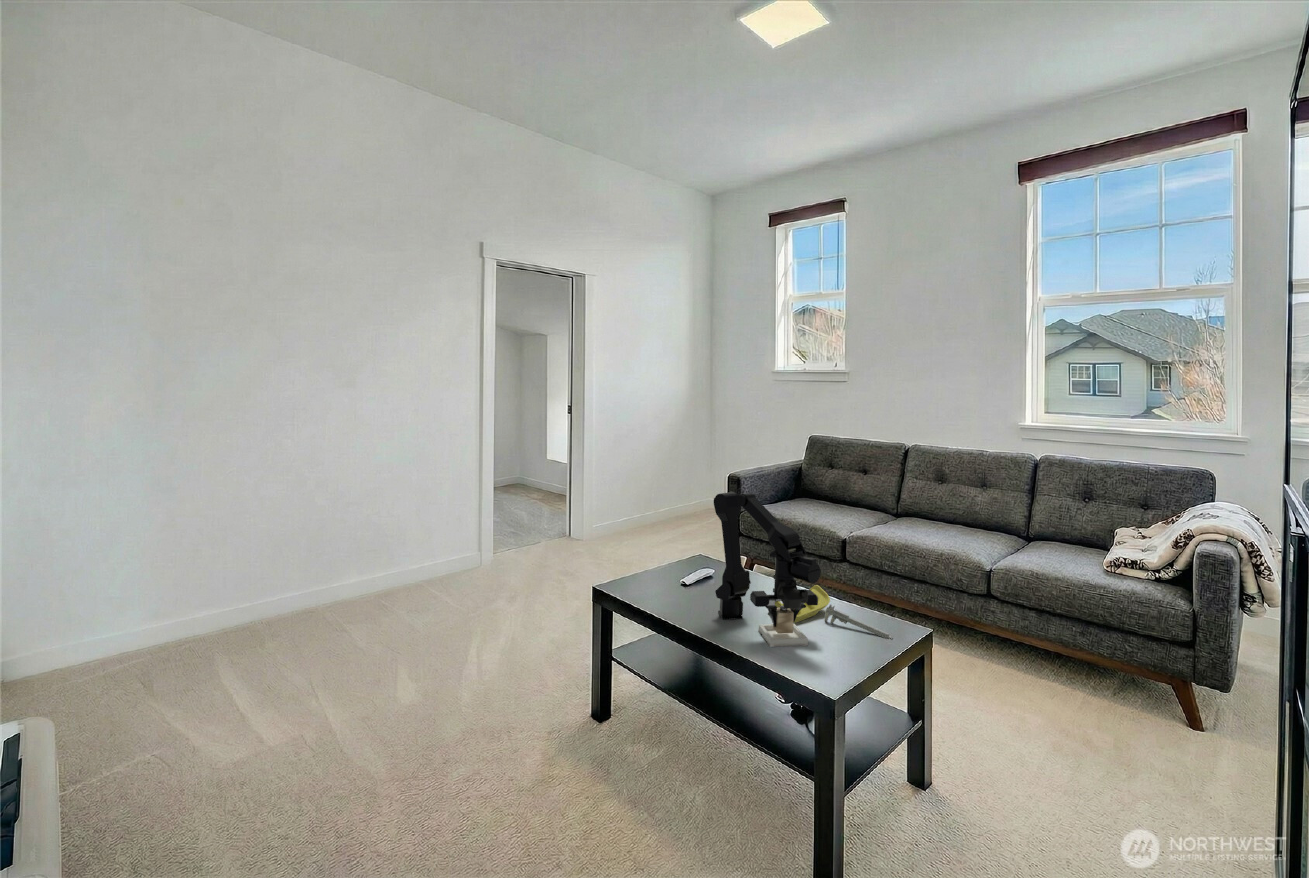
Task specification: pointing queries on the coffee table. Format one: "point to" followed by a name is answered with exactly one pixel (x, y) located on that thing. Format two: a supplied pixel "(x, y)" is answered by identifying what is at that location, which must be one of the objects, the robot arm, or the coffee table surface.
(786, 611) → the block
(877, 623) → the coffee table surface
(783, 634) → the housing tray
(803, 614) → the plastic component
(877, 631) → the caliper
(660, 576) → the coffee table surface
